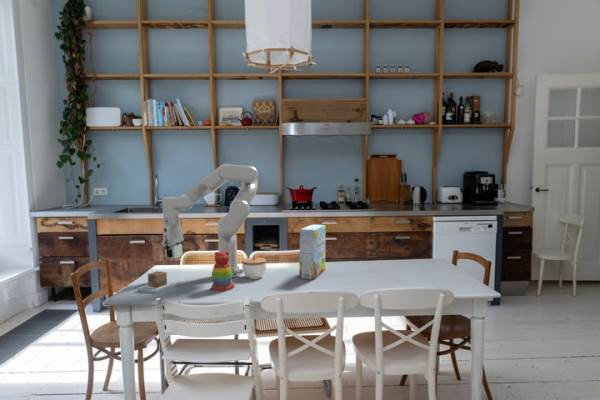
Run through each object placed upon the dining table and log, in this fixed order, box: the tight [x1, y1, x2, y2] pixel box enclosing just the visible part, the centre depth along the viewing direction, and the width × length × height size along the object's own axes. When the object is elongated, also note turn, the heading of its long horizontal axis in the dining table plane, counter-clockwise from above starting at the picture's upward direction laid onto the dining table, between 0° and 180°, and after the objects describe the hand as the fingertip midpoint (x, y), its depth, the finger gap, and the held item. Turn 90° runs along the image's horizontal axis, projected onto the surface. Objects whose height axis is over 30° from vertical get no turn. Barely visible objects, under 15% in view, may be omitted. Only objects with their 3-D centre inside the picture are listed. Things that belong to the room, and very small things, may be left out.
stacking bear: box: [211, 251, 236, 292], centre depth 200 cm, size 11×10×18 cm
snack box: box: [298, 224, 327, 281], centre depth 224 cm, size 22×9×26 cm, turn 161°
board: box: [136, 281, 178, 295], centre depth 202 cm, size 12×14×1 cm
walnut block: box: [147, 270, 168, 288], centre depth 202 cm, size 6×6×6 cm
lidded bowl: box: [241, 255, 267, 280], centre depth 220 cm, size 13×13×11 cm
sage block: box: [164, 243, 184, 259], centre depth 216 cm, size 6×6×6 cm
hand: (174, 255), depth 216 cm, fingers closed on sage block, 6 cm apart
